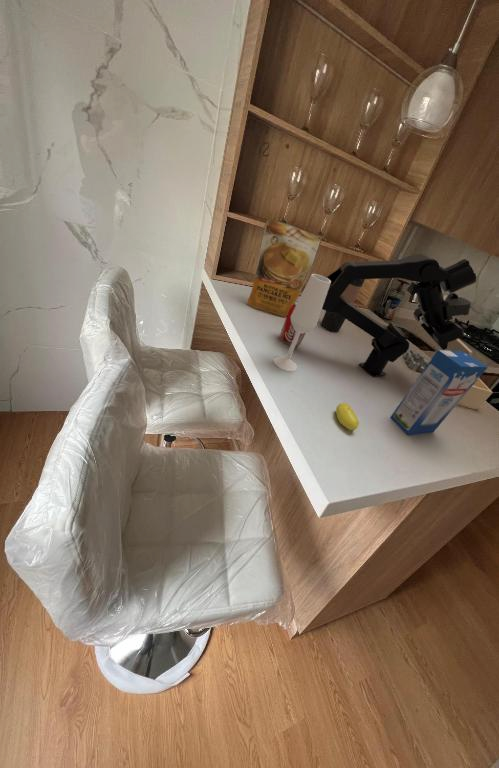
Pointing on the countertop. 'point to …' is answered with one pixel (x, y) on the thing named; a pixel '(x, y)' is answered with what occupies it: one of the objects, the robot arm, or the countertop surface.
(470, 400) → the cardboard box
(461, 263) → the robot arm
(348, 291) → the travel mug
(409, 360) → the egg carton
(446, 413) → the milk carton
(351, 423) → the lemon
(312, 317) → the champagne flute
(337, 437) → the countertop surface
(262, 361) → the countertop surface
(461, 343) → the lid
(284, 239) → the pancake mix bag
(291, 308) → the soda can
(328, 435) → the countertop surface
